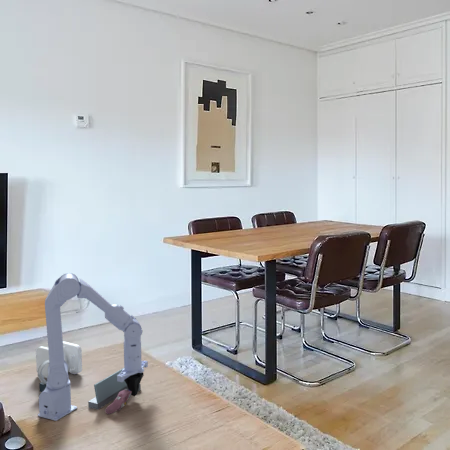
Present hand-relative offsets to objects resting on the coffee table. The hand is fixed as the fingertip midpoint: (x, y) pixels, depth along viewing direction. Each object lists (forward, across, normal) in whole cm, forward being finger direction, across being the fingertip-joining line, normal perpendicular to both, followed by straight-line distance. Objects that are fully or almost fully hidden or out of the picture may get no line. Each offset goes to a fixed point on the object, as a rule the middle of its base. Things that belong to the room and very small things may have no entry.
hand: (133, 394), depth 164 cm
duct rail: (+2, -1, +6) cm, 7 cm away
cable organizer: (+2, +6, +38) cm, 39 cm away
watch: (+2, -6, +31) cm, 32 cm away
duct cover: (-3, -1, +7) cm, 7 cm away
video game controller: (+2, -7, +1) cm, 7 cm away
